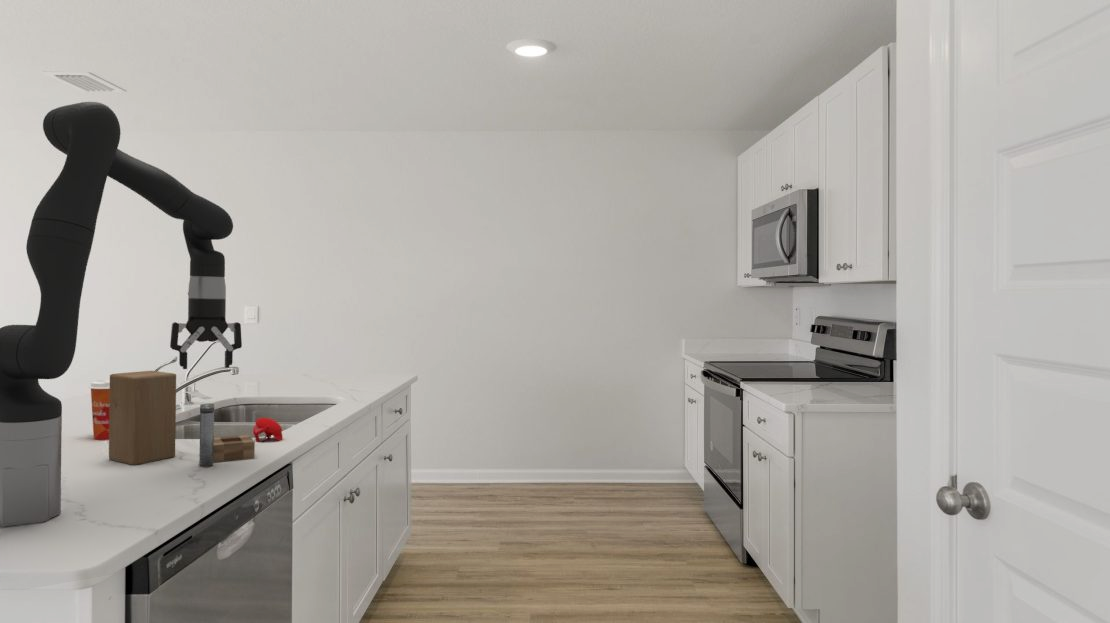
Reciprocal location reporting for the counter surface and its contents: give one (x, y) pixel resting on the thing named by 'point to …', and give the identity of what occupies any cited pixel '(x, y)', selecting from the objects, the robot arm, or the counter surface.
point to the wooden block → (142, 416)
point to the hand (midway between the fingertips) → (206, 368)
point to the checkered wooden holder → (233, 448)
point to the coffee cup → (100, 408)
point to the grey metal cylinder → (206, 435)
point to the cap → (267, 428)
